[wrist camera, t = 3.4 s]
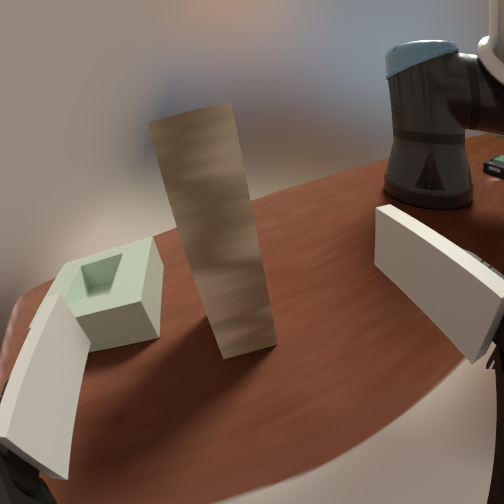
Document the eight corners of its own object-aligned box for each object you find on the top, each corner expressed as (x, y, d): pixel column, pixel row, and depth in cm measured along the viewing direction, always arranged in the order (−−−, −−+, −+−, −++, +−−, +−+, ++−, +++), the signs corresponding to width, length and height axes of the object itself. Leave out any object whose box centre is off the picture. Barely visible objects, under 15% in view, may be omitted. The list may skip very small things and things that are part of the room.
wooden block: (258, 296, 26) (217, 105, 18) (277, 344, 20) (230, 101, 13) (213, 308, 25) (159, 119, 17) (223, 359, 20) (147, 122, 12)
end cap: (163, 266, 33) (152, 236, 31) (159, 337, 23) (140, 300, 21) (78, 290, 32) (64, 263, 30) (50, 358, 22) (28, 328, 20)
